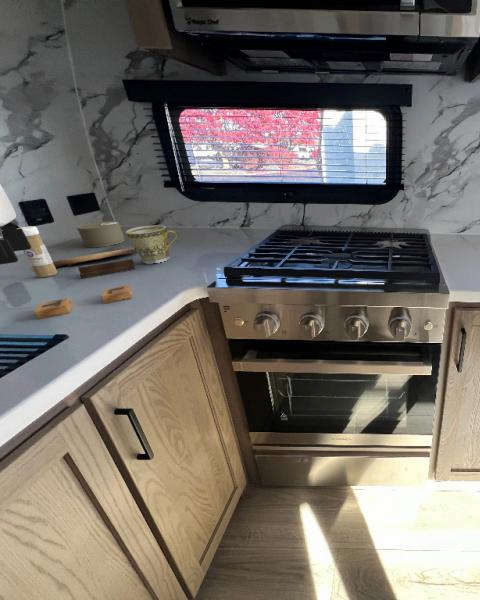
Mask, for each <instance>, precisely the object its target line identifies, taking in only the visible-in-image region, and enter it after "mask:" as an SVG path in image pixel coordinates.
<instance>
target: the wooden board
mask: <svg viewBox="0 0 480 600" xmlns="http://www.w3.org/2000/svg"><path fill="white" fill-rule="evenodd" d="M136 252H137V250H136V249H135V247H134V248H126V249H119V250H112V251H111V250H110V251H105V252H99V253H93V254H88V255H83V256H77V257H72V258H65V259H60V260H59V259H58V260H52V261H53V264H54V266H55V268H60V267H64V266H68V267H71V266H74V265H75V264H79V263H83V262H88V261H95V260H103V259H104V258H111V257H115V256H122V255H128V254H136Z"/></svg>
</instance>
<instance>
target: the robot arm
mask: <svg viewBox="0 0 480 600" xmlns="http://www.w3.org/2000/svg"><path fill="white" fill-rule="evenodd" d="M9 198H10V197H9V196H8V195H7V193H6V191H5V189H4V187H3V186H2V184H1V183H0V265H6V264H7V265H8V264H14V263H17V262H18V261H19V258H18V257H17V254H16V252H19V251H20V252H21V251H24V250H28V249H31V245H30V243H29V241H28V240H27V238H26V236H25V234H24V232H23V230H22V228H21V227H22V226H21V224H20V223H19V221H17V219H16V218H17V213H16V211H15V209H14V208H15V207H14V206H13V204H12V202H11V200H10V199H9ZM18 228H21V229H18Z"/></svg>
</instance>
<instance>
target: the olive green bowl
mask: <svg viewBox="0 0 480 600" xmlns="http://www.w3.org/2000/svg"><path fill="white" fill-rule="evenodd" d="M75 228H76V230H77V232H78V233H79V235H80V237H81V240H82V242H83V244H84V247H85V248H88V249H89V248H91V249H94V248H96V247H97V248H104V247H105V246H106V247H111V246H110V245H112V246H115V245H114V244H116V245H119V244H118V243H120V244H122V243H124V242H125V241H126V239H125V236H124V233H123V231H122V227H121V224H120V222H119V221H117V220H105V221H95V222H89V223H84V224H80V225H78V226H76V227H75ZM123 241H124V242H123ZM121 242H122V243H121ZM97 248H96V249H97Z"/></svg>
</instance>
